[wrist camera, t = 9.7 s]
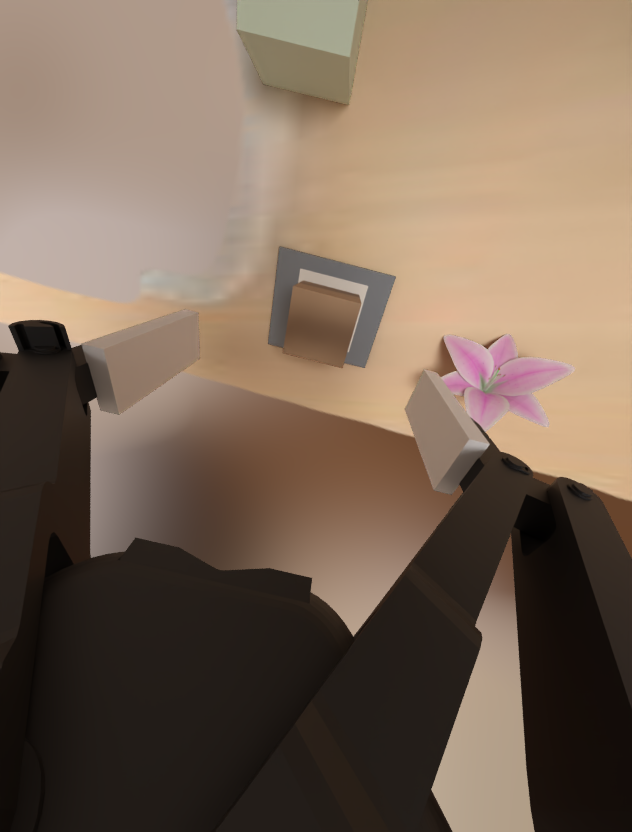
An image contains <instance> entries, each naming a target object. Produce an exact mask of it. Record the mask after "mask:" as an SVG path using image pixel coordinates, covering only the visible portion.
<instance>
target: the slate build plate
mask: <svg viewBox="0 0 632 832" xmlns="http://www.w3.org/2000/svg"><path fill="white" fill-rule="evenodd" d="M395 278H396V277H395V276H392V275H388V274H384V273H380V272H376V271H372V270H368V269H365V268H361V267H357V266H353V265H349V264H345V263H342V262H338V261H334V260H330V259H326V258H322V257H318V256H315V255H311V254H307V253H303V252H299V251H295V250H292V249H288V248H284V247H279V255H278V264H277V272H276V280H275V289H274V297H273V306H272V314H271V323H270V331H269V340H268V344H270V345H274V346H278V347H282V348H284V341H285V335H286V329H287V322H288V316H289V309H290V303H291V296H292V290H293V286H294V285H296V284H298V283H299V282H301V281H303V280H304V281H308V282H312V283H316V284H320V285H324V286H327V287H331V288H335V289H339V290H343V291H347V292H350V293H354V294H358V295H359V296H360V300H361V307H360V311H359V314H358V317H357V321H356V324H355V328H354V331H353V334H352V338H351V341H350V344H349V348H348V351H347V355H346V358H345V361H344V363H347V364H351V365H355V366H359V367H363V368H365V366H366V363H367V360H368V357H369V354H370V351H371V348H372V345H373V342H374V339H375V336H376V333H377V330H378V328H379V325H380V322H381V319H382V316H383V313H384V310H385V307H386V304H387V301H388V298H389V295H390V293H391V290H392V287H393V284H394V281H395Z"/></svg>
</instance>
